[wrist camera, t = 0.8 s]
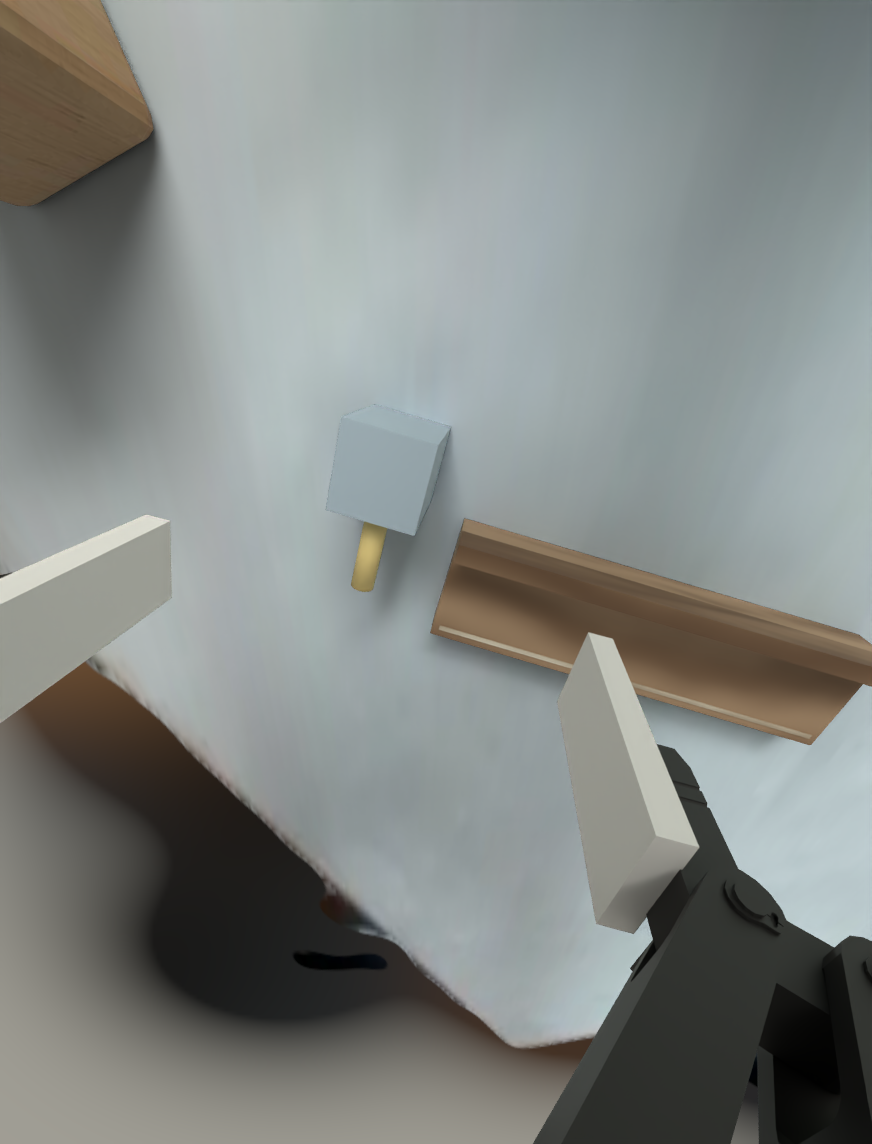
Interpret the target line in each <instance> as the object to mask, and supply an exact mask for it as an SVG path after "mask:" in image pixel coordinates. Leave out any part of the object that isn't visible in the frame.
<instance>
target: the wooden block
mask: <svg viewBox="0 0 872 1144" xmlns="http://www.w3.org/2000/svg"><path fill="white" fill-rule="evenodd" d="M152 131H153V123H152V118H151V114H150V112H149V110H148V107H147V105H146V103H145V100H144V98H143V96H142V94H141V91H140V89H139V87H138V85H137V82H136V80H135V78H134V75H133V73H132V71H131V69H130V66H129V64H128V62H127V60H126V57H125V55H124V53H123V50H122V48H121V46H120V44H119V41H118V39H117V37H116V35H115V32H114V30H113V28H112V25H111V23H110V21H109V19H108V16H107V14H106V12H105V10H104V7H103V5H102V3H101V0H0V200H1V201H4V202H7V203H10V204H13V205H17V206H31V205H35V204H38V203H40V202H41V201H43V200H45V199H46V198H48V197H50V196H51V195H53V194H55V193H56V192H58V191H60V190H61V189H63V188H65V187H67V186H68V185H70V184H72V183H73V182H75V181H77V180H78V179H80V178H82V177H83V176H85V175H87V174H88V173H90V172H92V171H94V170H95V169H97V168H99V167H100V166H102V165H104V164H105V163H107V162H109V161H110V160H112V159H114V158H115V157H117V156H119V155H121V154H122V153H124V152H126V151H127V150H129V149H131V148H132V147H134V146H136V145H137V144H139V143H141V142H142V141H144V140H146V139H148V137H149V136H150V134H151V132H152Z"/></svg>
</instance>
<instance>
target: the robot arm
mask: <svg viewBox="0 0 872 1144" xmlns="http://www.w3.org/2000/svg"><path fill="white" fill-rule="evenodd" d="M171 598H172V590H171V537H170V521H169V520H165V519H161V518H157V517H154V516H150V515H144V516H142V517H139V518H137V519H135V520H132V521H130V522H128V523H126V524H123V525H121V526H119V527H116V528H114V529H112V530H110V531H107V532H105V533H103V534H101V535H98V536H96V537H94V538H91V539H89V540H87V541H85V542H82V543H80V544H78V545H75V546H73V547H71V548H69V549H66V550H64V551H62V552H60V553H57V554H55V555H53V556H50V557H48V558H46V559H44V560H41V561H39V562H37V563H34V564H32V565H30V566H28V567H25V568H23V569H21V570H19V571H16V572H14V573H8V574H4V575H0V723H1V722H2V721H4V720H5V719H6V718H8V717H9V716H11V715H12V714H13V713H14V712H16V711H17V710H19V709H20V708H22V707H23V706H24V705H26V704H27V703H28V702H30V701H31V700H32V699H34V698H35V697H37V696H38V695H39V694H41V693H42V692H43V691H45V690H46V689H47V688H49V687H50V686H52V685H53V684H54V683H56V682H57V681H58V680H60V679H61V678H63V677H64V676H65V675H67V674H68V673H69V672H71V671H72V670H74V669H75V668H76V667H78V666H79V665H80V664H82V663H83V662H85V661H86V660H87V659H89V658H90V657H91V656H93V655H94V654H96V653H97V652H98V651H100V650H101V649H102V648H104V647H105V646H106V645H108V644H109V643H111V642H112V641H113V640H115V639H116V638H117V637H119V636H120V635H122V634H123V633H124V632H126V631H127V630H128V629H130V628H131V627H133V626H134V625H135V624H137V623H138V622H139V621H141V620H142V619H143V618H145V617H146V616H148V615H149V614H150V613H152V612H153V611H154V610H156V609H157V608H159V607H160V606H161V605H163V604H164V603H165V602H167V601H168V600H170V599H171ZM557 703H558V709H559V715H560V720H561V726H562V732H563V737H564V743H565V749H566V755H567V760H568V766H569V772H570V777H571V783H572V789H573V794H574V800H575V806H576V812H577V817H578V823H579V829H580V834H581V840H582V846H583V851H584V857H585V863H586V868H587V874H588V880H589V886H590V891H591V897H592V903H593V908H594V914H595V920H596V924H599V925H603V926H606V927H610V928H614V929H617V930H621V931H625V932H628V933H632V934H634V933H635V932H636V930H637V929H638V928H639V926H640V925H641V924H642V922H643V921H644V920H645V919H646V917H647V919H648V923H649V926H650V930H651V934H652V937H653V940H652V942H651V943H650V944H649V945H648V947H647V948H646V949H645V950H644V952H643V953H642V954H641V955H640V957H639V958H638V959H637V960H636V962H635V963H634V964H633V965H632V967H631V968H630V969H631V970H632V971H633V972H632V974H631V975H630V977H629V979H628V981H627V982H626V984H625V986H624V988H623V989H622V991H621V993H620V994H619V996H618V998H617V1000H616V1001H615V1003H614V1005H613V1006H612V1008H611V1010H610V1012H609V1013H608V1015H607V1017H606V1019H605V1020H604V1022H603V1024H602V1025H601V1027H600V1029H599V1031H598V1032H597V1034H596V1036H595V1038H594V1039H593V1041H592V1043H591V1044H590V1046H589V1048H588V1050H587V1051H586V1053H585V1055H584V1056H583V1058H582V1060H581V1062H580V1063H579V1065H578V1067H577V1069H576V1070H575V1072H574V1074H573V1076H572V1077H571V1079H570V1081H569V1083H568V1084H567V1086H566V1088H565V1090H564V1091H563V1093H562V1094H561V1096H560V1098H559V1100H558V1101H557V1103H556V1105H555V1106H554V1108H553V1110H552V1112H551V1113H550V1115H549V1117H548V1119H547V1120H546V1122H545V1124H544V1125H543V1128H542V1129H541V1131H540V1132H539V1134H538V1136H537V1138H536V1139H535V1141H534V1143H533V1144H730V1143H731V1139H732V1136H733V1132H734V1129H735V1125H736V1122H737V1119H738V1115H739V1112H740V1108H741V1105H742V1101H743V1097H744V1094H745V1090H746V1087H747V1084H748V1080H749V1077H750V1073H751V1070H752V1066H753V1063H754V1059H755V1056H756V1052H757V1057H758V1112H759V1113H758V1114H759V1144H872V941H870V940H868V939H865V938H863V937H856V936H849V937H847V938H846V939H844V940H843V941H842V942H840V943H839V944H838V945H837V946H836V947H835V948H834V947H832V946H830V945H829V944H827V943H825V942H823V941H822V940H820V939H818V938H816V937H814V936H813V935H811V934H809V933H807V932H805V931H804V930H802V929H800V928H798V927H797V926H795V925H793V924H791V923H790V922H788V921H787V920H786V918H785V916H784V914H783V911H782V909H781V908H780V907H779V905H778V904H777V903H776V901H775V900H774V898H773V897H772V896H771V894H770V893H769V892H768V891H767V890H766V889H764V888H763V887H762V886H761V885H760V884H759V883H758V882H757V881H756V880H755V879H753V878H752V877H750V876H749V875H747V874H746V873H744V872H743V871H741V870H739V869H738V867H737V865H736V863H735V861H734V859H733V857H732V855H731V853H730V851H729V848H728V846H727V844H726V842H725V840H724V838H723V836H722V834H721V832H720V829H719V827H718V825H717V823H716V821H715V819H714V817H713V815H712V813H711V810H710V808H707V802H706V800H705V798H704V796H703V794H702V791H699V788H700V787H699V785H698V783H697V781H696V779H695V777H694V775H693V772H692V770H691V768H690V767H689V766H688V765H687V763H686V762H685V761H684V760H683V759H682V757H681V756H680V755H679V754H678V753H677V752H676V750H675V749H673V748H669V747H665V746H662V745H658V744H656V742H655V739H654V737H653V734H652V732H651V730H650V727H649V725H648V722H647V720H646V718H645V715H644V713H643V710H642V708H641V705H640V703H639V701H638V698H637V696H636V693H635V691H634V689H633V686H632V684H631V681H630V679H629V677H628V674H627V672H626V669H625V667H624V664H623V662H622V660H621V657H620V655H619V652H618V650H617V648H616V645H615V643H614V640H613V639H612V638H608V637H604V636H600V635H597V634H593V633H589V632H588V634H587V636H586V638H585V640H584V643H583V645H582V647H581V649H580V652H579V654H578V656H577V658H576V660H575V663H574V665H573V667H572V669H571V672H570V674H569V676H568V678H567V680H566V683H565V685H564V687H563V689H562V692H561V694H560V696H559V698H558V701H557Z"/></svg>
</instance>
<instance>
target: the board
mask: <svg viewBox="0 0 872 1144" xmlns="http://www.w3.org/2000/svg"><path fill="white" fill-rule="evenodd" d="M588 632H589V633H593V634H597V635H600V636H604V637H608V638H612V639H613V640H614V643H615V645H616V648H617V650H618V652H619V655H620V657H621V660H622V662H623V664H624V667H625V669H626V672H627V674H628V677H629V679H630V681H631V684H632V686H633V689H634V691H635V693H636V694H638V695H641V696H645V697H648V698H652V699H655V700H658V701H662V702H665V703H669V704H672V705H675V706H679V707H682V708H685V709H689V710H692V711H696V712H699V713H702V714H706V715H709V716H713V717H716V718H719V719H723V720H726V721H730V722H733V723H736V724H740V725H743V726H746V727H750V728H753V729H757V730H760V731H763V732H767V733H770V734H774V735H777V736H780V737H784V738H787V739H790V740H794V741H797V742H801V743H804V744H807V745H811V744H812V743H813V742H814V741H815V740H816V738H817V737H818V736H819V735H820V734H821V733H822V731H823V730H824V729H825V728H826V727H827V726H828V724H829V723H830V722H831V721H832V720H833V719H834V717H835V716H836V715H837V714H838V713H839V712H840V710H841V709H842V708H843V707H844V706H845V705H846V703H847V702H848V701H849V700H850V699H851V698H852V696H853V695H854V694H855V693H856V692H857V691H858V689H859V688H860V687H861V686H862V685H863V684H865V685H868V686H872V644H870V643H869V642H868V641H866V640H865V639H864V638H862V637H861V636H860V635H858V634H854V633H851V632H847V631H844V630H841V629H837V628H834V627H830V626H827V625H824V624H820V623H817V622H814V621H810V620H807V619H803V618H800V617H797V616H793V615H790V614H786V613H783V612H780V611H776V610H773V609H770V608H766V607H763V606H759V605H756V604H753V603H749V602H746V601H743V600H739V599H736V598H732V597H729V596H726V595H722V594H719V593H715V592H712V591H709V590H705V589H702V588H699V587H695V586H692V585H688V584H685V583H682V582H678V581H675V580H672V579H668V578H665V577H661V576H658V575H655V574H651V573H648V572H644V571H641V570H638V569H634V568H631V567H628V566H624V565H621V564H617V563H614V562H611V561H607V560H604V559H601V558H597V557H594V556H590V555H587V554H584V553H580V552H577V551H573V550H570V549H567V548H563V547H560V546H557V545H553V544H550V543H546V542H543V541H540V540H536V539H533V538H530V537H526V536H523V535H519V534H516V533H513V532H509V531H506V530H502V529H499V528H496V527H492V526H489V525H486V524H482V523H479V522H475V521H472V520H469V519H465V518H464V522H463V525H462V528H461V531H460V535H459V538H458V541H457V544H456V548H455V551H454V554H453V557H452V560H451V564H450V567H449V570H448V573H447V577H446V580H445V583H444V586H443V590H442V593H441V596H440V599H439V603H438V606H437V609H436V612H435V615H434V619H433V624H432V628H431V632H430V633H431V634H435V635H438V636H442V637H445V638H448V639H452V640H455V641H459V642H462V643H465V644H469V645H472V646H475V647H479V648H482V649H486V650H489V651H492V652H496V653H499V654H503V655H506V656H509V657H513V658H516V659H520V660H523V661H526V662H530V663H533V664H536V665H540V666H543V667H547V668H550V669H553V670H557V671H560V672H564V673H567V674H570V672H571V669H572V667H573V665H574V663H575V660H576V658H577V656H578V654H579V652H580V649H581V647H582V645H583V643H584V640H585V638H586V636H587V634H588Z"/></svg>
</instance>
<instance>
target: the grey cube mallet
mask: <svg viewBox="0 0 872 1144" xmlns="http://www.w3.org/2000/svg"><path fill="white" fill-rule="evenodd" d="M450 429H451V427H450V426H447V425H444V424H440V423H437V422H433V421H430V420H427V419H423V418H420V417H416V416H413V415H410V414H406V413H403V412H400V411H396V410H393V409H389V408H386V407H383V406H379V405H376V404H374V405H371V406H369V407H366V408H363V409H360V410H358V411H355V412H352V413H349V414H346V415H344V416H341V421H340V427H339V433H338V439H337V445H336V451H335V456H334V462H333V468H332V474H331V480H330V486H329V492H328V498H327V504H326V510H327V511H331V512H334V513H338V514H341V515H344V516H348V517H351V518H354V519H358V520H361V521H364V524H363V529H362V534H361V539H360V544H359V548H358V553H357V558H356V563H355V568H354V572H353V577H352V582H351V586H352V587H353V588H354V589H356V590H358V591H362V592H369V591H371V590H373V588H374V583H375V579H376V575H377V570H378V566H379V562H380V558H381V553H382V549H383V545H384V540H385V536H386V532H387V528H388V529H392V530H395V531H398V532H402V533H405V534H409V535H412V536H415V534H416V532H417V530H418V528H419V525H420V523H421V521H422V519H423V517H424V515H425V513H426V511H427V509H428V506H429V504H430V502H431V500H432V496H433V492H434V489H435V485H436V481H437V477H438V474H439V470H440V466H441V463H442V459H443V455H444V452H445V448H446V444H447V441H448V437H449V433H450Z"/></svg>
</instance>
